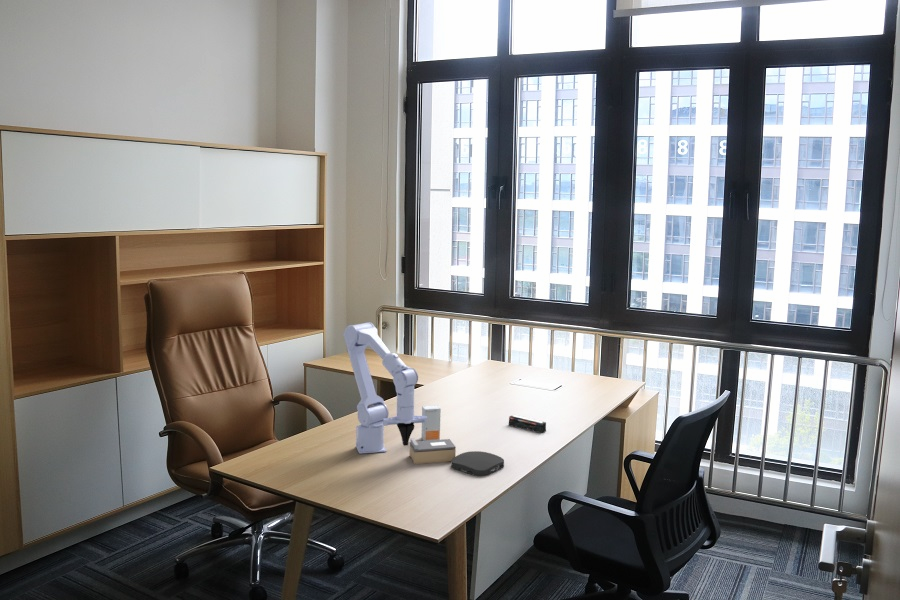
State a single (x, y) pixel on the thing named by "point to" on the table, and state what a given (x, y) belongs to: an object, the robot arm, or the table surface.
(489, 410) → the table surface
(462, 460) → the media streaming box
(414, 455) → the box
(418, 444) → the lid
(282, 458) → the table surface
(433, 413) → the skincare box
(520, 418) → the graphics card
